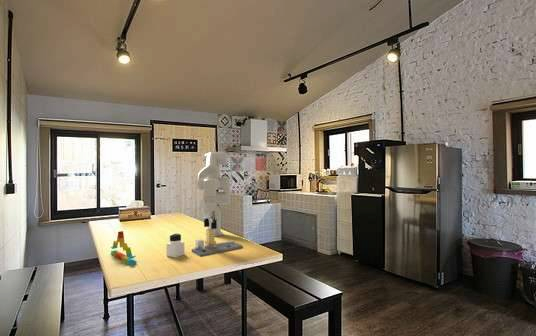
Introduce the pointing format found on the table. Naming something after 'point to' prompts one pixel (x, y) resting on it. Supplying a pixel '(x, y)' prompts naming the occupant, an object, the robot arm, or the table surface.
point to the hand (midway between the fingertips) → (210, 227)
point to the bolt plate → (220, 247)
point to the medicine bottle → (175, 246)
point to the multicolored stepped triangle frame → (120, 255)
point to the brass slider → (210, 238)
